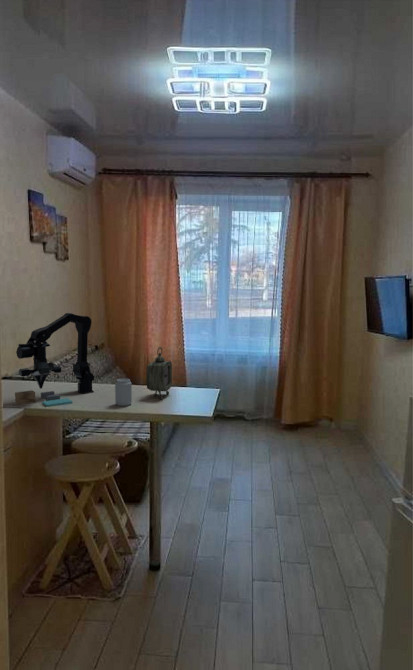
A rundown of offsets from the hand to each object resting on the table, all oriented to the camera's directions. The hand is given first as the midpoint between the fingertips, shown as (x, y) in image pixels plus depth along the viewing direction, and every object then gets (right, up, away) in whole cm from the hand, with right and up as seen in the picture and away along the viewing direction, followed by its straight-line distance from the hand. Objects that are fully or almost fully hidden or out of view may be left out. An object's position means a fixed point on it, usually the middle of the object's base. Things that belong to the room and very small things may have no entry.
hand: (40, 388), depth 229 cm
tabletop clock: (+56, -6, +10) cm, 57 cm away
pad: (+10, -7, -5) cm, 13 cm away
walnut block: (-6, -6, -4) cm, 10 cm away
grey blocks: (+4, -6, +3) cm, 7 cm away
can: (+41, -7, -6) cm, 42 cm away
